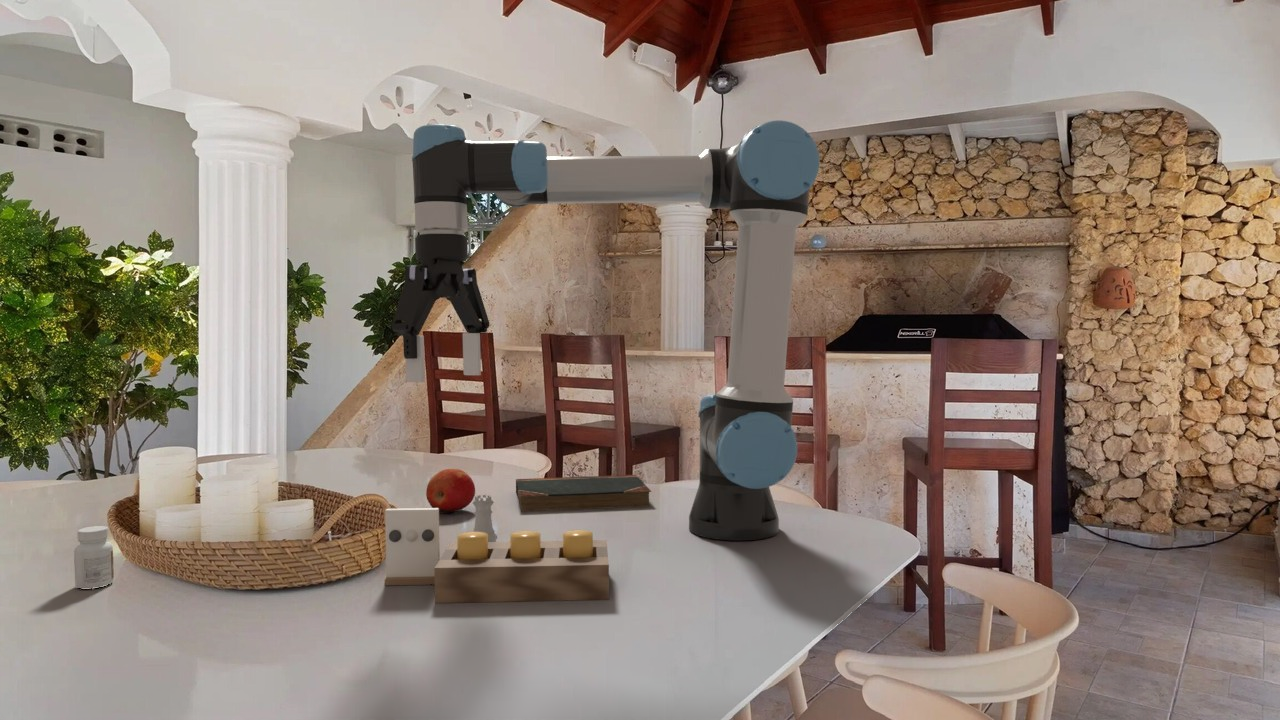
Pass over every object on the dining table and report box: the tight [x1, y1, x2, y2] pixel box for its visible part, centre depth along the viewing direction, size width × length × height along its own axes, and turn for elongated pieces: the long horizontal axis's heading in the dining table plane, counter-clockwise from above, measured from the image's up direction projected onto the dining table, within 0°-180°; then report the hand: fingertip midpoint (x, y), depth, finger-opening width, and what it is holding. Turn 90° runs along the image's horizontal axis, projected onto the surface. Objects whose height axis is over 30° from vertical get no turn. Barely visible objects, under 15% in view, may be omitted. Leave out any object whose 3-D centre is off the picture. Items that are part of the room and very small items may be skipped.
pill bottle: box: [73, 525, 115, 589], centre depth 115 cm, size 4×4×8 cm
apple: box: [425, 468, 476, 514], centre depth 157 cm, size 8×8×8 cm
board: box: [434, 539, 610, 604], centre depth 115 cm, size 22×12×4 cm, turn 94°
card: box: [384, 507, 441, 586], centre depth 116 cm, size 7×3×10 cm, turn 94°
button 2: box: [562, 529, 594, 558], centre depth 115 cm, size 4×4×4 cm
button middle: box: [509, 530, 541, 559], centre depth 114 cm, size 4×4×4 cm
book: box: [515, 474, 652, 512], centre depth 169 cm, size 17×4×25 cm
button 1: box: [456, 531, 488, 560], centre depth 114 cm, size 4×4×4 cm
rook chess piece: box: [472, 494, 498, 542], centre depth 134 cm, size 4×4×8 cm
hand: (445, 378), depth 126 cm, fingers open, 13 cm apart
